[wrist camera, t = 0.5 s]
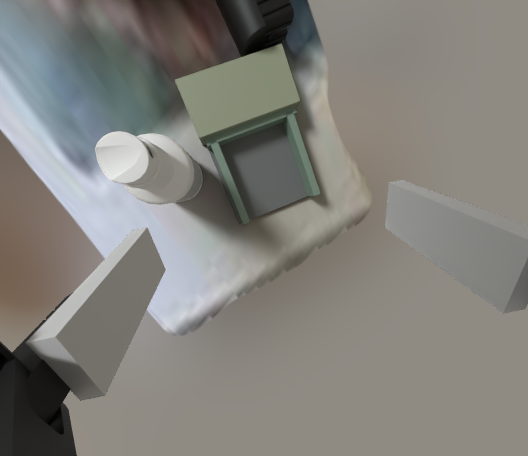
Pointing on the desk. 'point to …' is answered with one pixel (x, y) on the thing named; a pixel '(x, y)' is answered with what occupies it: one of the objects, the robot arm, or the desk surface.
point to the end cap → (256, 22)
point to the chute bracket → (252, 130)
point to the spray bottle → (149, 167)
